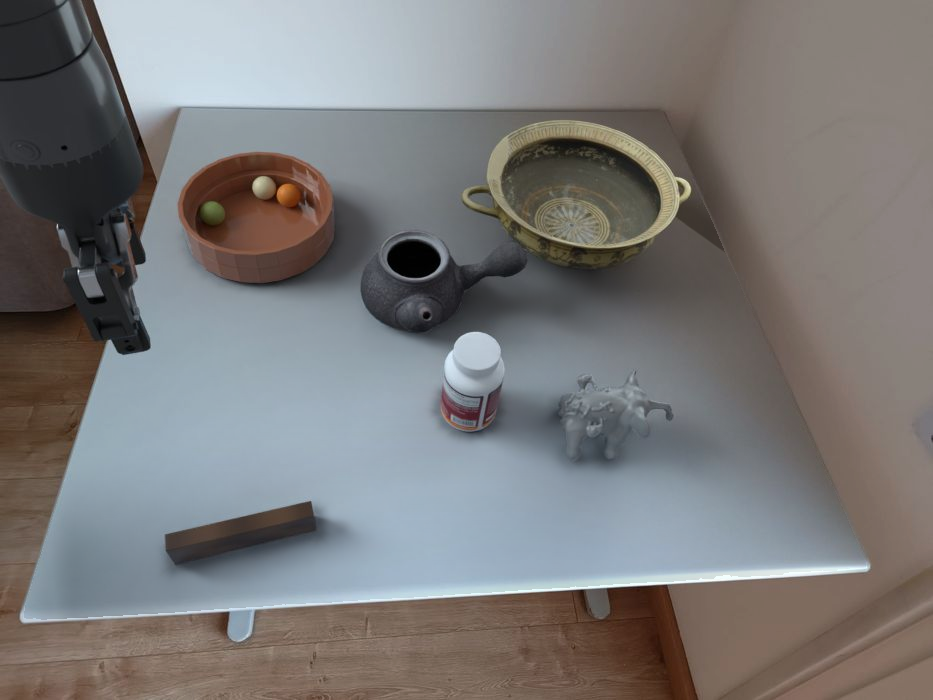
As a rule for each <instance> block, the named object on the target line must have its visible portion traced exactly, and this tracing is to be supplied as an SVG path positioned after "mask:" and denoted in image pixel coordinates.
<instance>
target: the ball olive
mask: <svg viewBox="0 0 933 700" xmlns="http://www.w3.org/2000/svg"><path fill="white" fill-rule="evenodd" d="M200 217H201V219H202V220H203V222H204V223H206V224H208V225H211V226H215V225H219V224H220V223H222V221H223V220H224V218H225V211H224V208H223V207H222V206H221V205H220V204H219V203H217V202H214V201H210V202H206V203H205V204H203V205H202V207H201V209H200Z"/></svg>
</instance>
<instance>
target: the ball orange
mask: <svg viewBox="0 0 933 700" xmlns="http://www.w3.org/2000/svg"><path fill="white" fill-rule="evenodd" d="M300 197H301V195H300V191H299V189H298V188H297V187H296V186H294V185H292V184H284V185H282V186H281V187H280V188H279V189H278V191H277V199H278V201H279V203H280V204H281V205H283V206H285V207H294V206H296V205H297V204H298V203H299V201H300Z"/></svg>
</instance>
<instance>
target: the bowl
mask: <svg viewBox="0 0 933 700" xmlns="http://www.w3.org/2000/svg"><path fill="white" fill-rule="evenodd" d="M261 176H267V177H269V178H271V179H272V180H273V181H274V182H275V184H276V193H275V195H274V196H273V197H272V198H270V199H267V200H263V199H260V198H258V197H257V196H256V195H255V194H254V192H253V189H252V186H253V182H254V181H255V179H257V178H258V177H261ZM284 184H292V185H294V186H296V187H297V188H298V189H299V191H300V195H301V197H300V201H299V203H298V204H297V205H296V206H294V207H285V206H283V205H281V204H280V203H279V201H278V199H277V191H278V189H279V188H280V187H281V186H282V185H284ZM210 201H214V202H217V203H219V204H220V205H221V206H222V207H223V208H224V211H225V218H224V220H223V221H222V223H220V224H219V225H215V226H211V225H208V224H206V223H204V222H203V220H202V219H201V217H200V209H201V207H202V205H203V204H205V203H206V202H210ZM177 212H178V214H177V215H178V219H179V222H180V226H181V228H182V232H183V235H184V238H185V241H186V244H187V248H188V249H189V251H190V253H191V255H192V257H193V258H194V260H195V261H196V262H197V263H198V264H199V265H201V266H202V267H203V268H204V269H205V270H206V271H208V272H210V273H212V274H213V275H216V276H218V277H220V278H223V279H226V280H230V281H234V282H237V283H250V284H251V283H252V284H264V283H265V284H266V283H271V282H272V283H273V282H279V281H284V280H286V279H289V278H292V277H294V276H297V275H300V274H302V273H304V272H305V271H307V270H308V269H310V268H312V267H313V266H315V265H316V264H317V263H319V261H321V259H322V258H323V257H324V256H325V255H326V254H327V253H328V251H329V249H330V247H331V245H332V243H333V242H334V239H335V231H336V221H335V220H336V218H335V207H334V195H333V192H332V188H331V184H330V183H329V181H328V180H327V179H326V178H325V176H324V175H323V173H322V172H321V171H320V170H318V169H317V168H316V167H314V166H313V165H312V164H310V163H309V162H306V161H304V160H303V159H299V158H297V157H295V156H292V155H288V154H285V153H284V154H283V153H280V152H272V151H271V152H269V151H252V152H242V153H241V152H240V153H236V154H232V155H228V156H225V157H222V158H219V159H217V160H215V161H213V162H211V163H208V164H207V165H205V166H203V167H202V168H200V169H199V170H198V171H197V172H195V173H194V174H193V175H192V176H191V177H190V178H189V179H188V180H187V182H186V183H185V185H183V188H182V189H181V191H180V194H179V197H178V201H177Z"/></svg>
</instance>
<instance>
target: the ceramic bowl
mask: <svg viewBox="0 0 933 700" xmlns="http://www.w3.org/2000/svg"><path fill="white" fill-rule="evenodd" d="M486 183H487V184H485V185H483V184H482V185H474V186H469V187H468V188H466V189H464V190H463V191H462V193H461V201H462V204H463V205H464V206H465V207H466V208H468V209H469V210H471V211H473V212H475V213H478V214H481V215H484V216H488V217H492V218H494V219H497V220H498V222H499V224H500V225H501V227H502V228H503V230H504V231H505V232H506V234H507V235H508V237H509V238H511V239H512V241H513V242H516V243H518V244H520V245H521V246H522V247H523V249H524V251H527V252H528V253H530V254H531V255H533V256H535V257H537V258H539V259H541V260H544V261H547V262H548V263H552V264H555V265H559V266H562V267H566V268H574V269H582V270H583V269H584V270H585V269H586V270H587V269H588V270H592V269H593V270H594V269H603V268H610V267H614V266H618V265H621V264H625V263H626V262H629V261H631V260H633V259H634V258H636V257H638V256H640V255H641V254H642V253H643V252H645V251H646V250H647V249H648V248H649V247H650V246H651V245H652V244H653V243H654V241H655V240H656V238H657V237H658V236H659V234H660V233H661V232H663V231H664V230H666V228H667V227H669V225H670V224H671V223H672V222H673V220H674V219H675V218H676V216H677V214H678V212H679V209H680V208H679V207H680V205H681V204H682V203H684V202H686V201H687V200H688V198H689V197H690V196H691V192H692V187H691V185H690V183H689V182H688V181H687V180H686V179H684V178H682V177H677V176H675V174H674V173H673V172H672V170H671V169H670V167H669V166H668V165H667V163H666V162H665V161H664V160H663V159H662V158H661V157H660V156H659V155H658V153H656V152H655V151H654V150H652V149H650V148H649V146H647V145H646V144H644V143H643V142H641V141H640V140H638V139H636V138H634V137H633V136H630V135H629V134H626V133H624V132H622V131H620V130H617V129H613V128H612V127H609V126H606V125H602V124H599V123H595V122H589V121H581V120H573V119H555V120H546V121H540V122H535V123H531V124H527V125H525V126H522V127H520V128H518V129H516V130H514V131H512V132H510V133H508V135H506V136H504V137H503V138H502V139H501V140H500V141H499V142H498V143H497V144H496V145H495V147H494V148H493V150H492V152H491V153H490V157H489V159H488V163H487V170H486ZM679 187H680V188H682V190H683V193H682V194H681V195H680V191H679ZM475 194H476V195H477V194H487V195H489V196H491V198H492V204H493V207H488V206H485V205H482V204H479V203H477V202H474V201H473V200H472V199H470V197H471V196H472V195H475Z"/></svg>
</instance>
